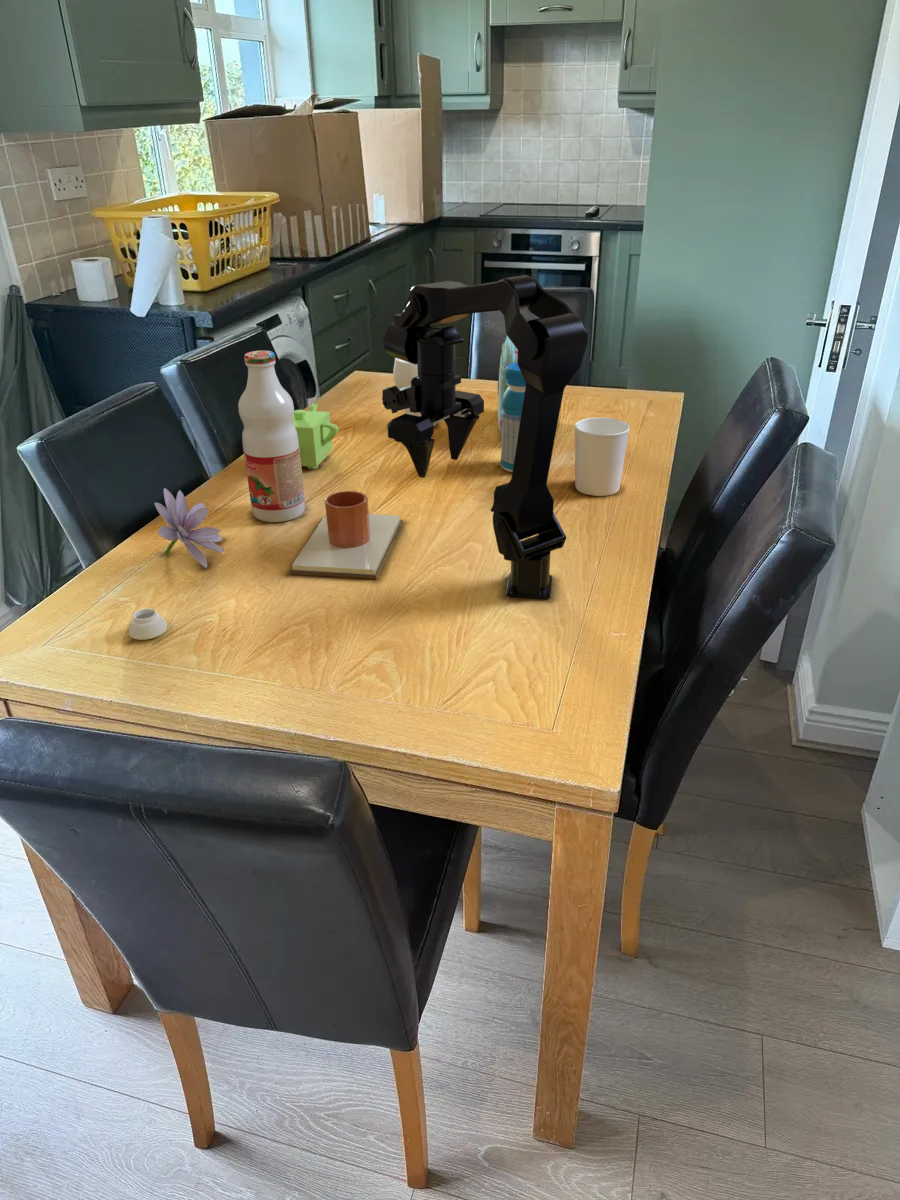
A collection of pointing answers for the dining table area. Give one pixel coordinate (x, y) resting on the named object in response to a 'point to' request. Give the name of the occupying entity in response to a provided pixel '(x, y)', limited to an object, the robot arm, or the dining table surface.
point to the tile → (348, 551)
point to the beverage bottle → (511, 415)
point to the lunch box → (507, 358)
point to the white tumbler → (600, 455)
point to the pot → (347, 519)
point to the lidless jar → (146, 624)
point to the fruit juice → (270, 443)
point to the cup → (405, 377)
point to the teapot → (314, 435)
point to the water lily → (187, 526)
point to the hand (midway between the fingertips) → (438, 468)
